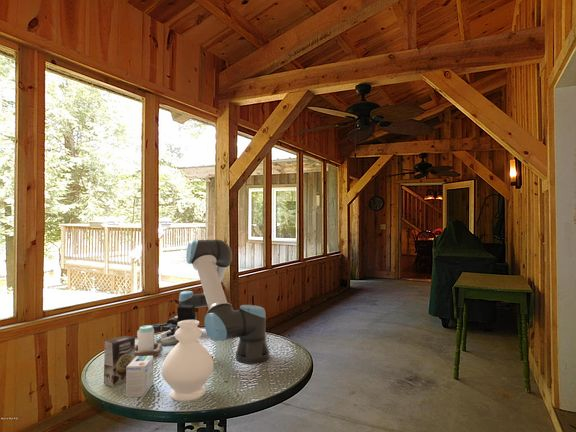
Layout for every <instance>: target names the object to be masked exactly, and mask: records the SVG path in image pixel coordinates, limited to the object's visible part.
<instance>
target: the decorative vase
mask: <svg viewBox="0 0 576 432" xmlns="http://www.w3.org/2000/svg"><path fill="white" fill-rule="evenodd" d="M199 325H200V320H197V319H196V320H183V321H180V322H178V326H179V327H180V328H179V329H177V330H176V332H175V335H174V336H175V338H176V339H177V340H178V341H179V343H178V344H175V346H173V348H171V350H170V351H169V352H168V353H167V355H166V357H165V358H164V360H163V363H162V365H161V375H162V378H163V379H164V381H165V382H166V383H167V385H169V386H170V388H171V390H169V395H168V396H169V398H170V399H172V400H173V401H177V402H189V401H194V400H197V399H200V398H201V397H203V396H204V395H205V394H206V393H207V389H206V387H205V386H204V385H205V384H206V382H207V381H208V379H209V378H210V377H211V375H212V373H213V371H214V360H213V357H212V355H211V353H210V352H209V350H207V348H206V347H205V346H204V345H203V344H202V343H200V341H199V339H200V338H201V336H203V335H202V334H203V331H202V329H201V328H200V327H198V326H199Z"/></svg>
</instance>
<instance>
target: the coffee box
mask: <svg viewBox="0 0 576 432" xmlns="http://www.w3.org/2000/svg"><path fill="white" fill-rule="evenodd" d="M135 345H136V337H135V336H129V335H122V336H118V337H114V338H111V339H107V340H104V354H103V355H104V359H103V384H105V385H107V386H109V387H111V388H113V387H114V388H115V387H117V386H119V385H123V384H126V367H127V366H128V365H129V364H130V363H131V361H132V360H133V359H134V358H135Z"/></svg>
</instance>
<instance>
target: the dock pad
mask: <svg viewBox="0 0 576 432" xmlns="http://www.w3.org/2000/svg"><path fill="white" fill-rule="evenodd" d="M155 343H161V347H162V346H167V347H168V346H174V345H175V346H176V345H177V339H176V338H175V335H173V336H169V337H167V338H165V339H163V340H161V337H160V338H158V339H156V342H155Z"/></svg>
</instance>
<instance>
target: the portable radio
mask: <svg viewBox="0 0 576 432" xmlns="http://www.w3.org/2000/svg"><path fill="white" fill-rule="evenodd" d="M195 309H196V308H195V305H181V304H179V303H178V305H177V307H176V310H177V312H176V313H177V316H178V322H180V321H183V320H197V315H196V310H195ZM195 315H196V316H195ZM179 328H180V327H179V326H178V329H179ZM178 343H179V341H178V340H177V344H178ZM177 344H176V345H177Z"/></svg>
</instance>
